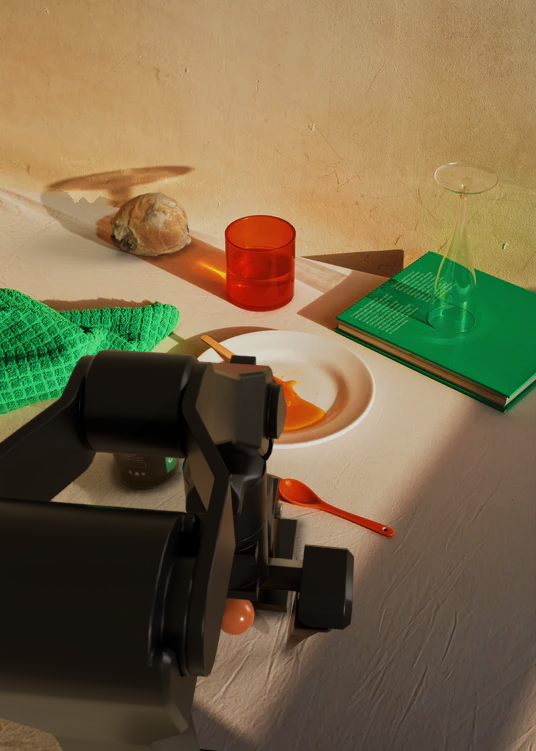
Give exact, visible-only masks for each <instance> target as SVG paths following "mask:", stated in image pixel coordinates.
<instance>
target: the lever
mask: <svg viewBox="0 0 536 751" xmlns="http://www.w3.org/2000/svg"><path fill="white" fill-rule="evenodd" d="M254 620H255V610H254V608H253V606H252V604H251V602H250V601H249V600H240V599H230V598H226V603H225V609H224V615H223V620H222V626H221V631H222V632H224V633H225V634H228V635H231V636H238V635H242V634H244V633H246V632H247V631H248V630H249V629H250V628H251V627H252V625H253V623H254Z"/></svg>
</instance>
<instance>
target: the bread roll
mask: <svg viewBox="0 0 536 751" xmlns="http://www.w3.org/2000/svg"><path fill="white" fill-rule="evenodd" d="M109 224H110V226H111V234H110V241H111V242H112V243H113V244H115V245H117V246H118V247H119V249H120V250H122V251H125V252H127V253H130V254H133V255H136V256H137V255H138V256H145V257H157V256H159V255H166V254H167V255H168V254H172V253H176V252H178V251H180V250H182V249H183V248H185V246H189V245H190V244H191V242H192V237H191V236H189V233H190V228H189V220H188V215H187V212H186V211H185V208H184V207H183V205H182V204H181V203H180V202H178V201H177V199H175V198H173V197H172V196H168V195H166V194H165V193H163V192H160V191H158V192H146V193H142V194H139V195H135V196H134V197H132V198H130V199H129V200H127V201H126V202H124V203H123V204H122V205H121V206H120V207H119V209H118V211H117V212H116V213H115V214H114V216H113V217H112V218H111V219H110V220H109Z"/></svg>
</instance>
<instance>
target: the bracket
mask: <svg viewBox="0 0 536 751" xmlns="http://www.w3.org/2000/svg"><path fill="white" fill-rule="evenodd" d="M283 505H284V504H283V503H282V502H280V478H278V477H273V502H272V514H273V543H272V549H271V550H269V549H268V558H279V559H290V560H294V557H295V549H296V542H297V539H296V538H297V532H298V531H297V530H298V519H293V518H283ZM290 592H291V591H284V590H274V589H263V588H259V592H258V598H257V601H251V600H249V601H250V602H251V604H252V606H253V608H254V611H264V612H265V611H266V612H275V613H283V614H284V613H288V607H289V599H290Z"/></svg>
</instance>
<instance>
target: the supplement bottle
mask: <svg viewBox="0 0 536 751" xmlns="http://www.w3.org/2000/svg"><path fill="white" fill-rule="evenodd" d="M112 455H113V461H114V466H115V471H116V474H117V476H118V478H119V479H120V481H122V482H123V483H124V484H125V485H128V486H129V487H132V488H134V489H135V488H136V489H142V490H145V489H146V490H147V489H155V488H157V487H161V486H163V485H166V484H168V482H170V481H171V480H172V479H173V478H175V476H176V474H177V473H178V471H179V469H180V464H181V459H180V458H166V457H153V456H139V455H125V454H112Z"/></svg>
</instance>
